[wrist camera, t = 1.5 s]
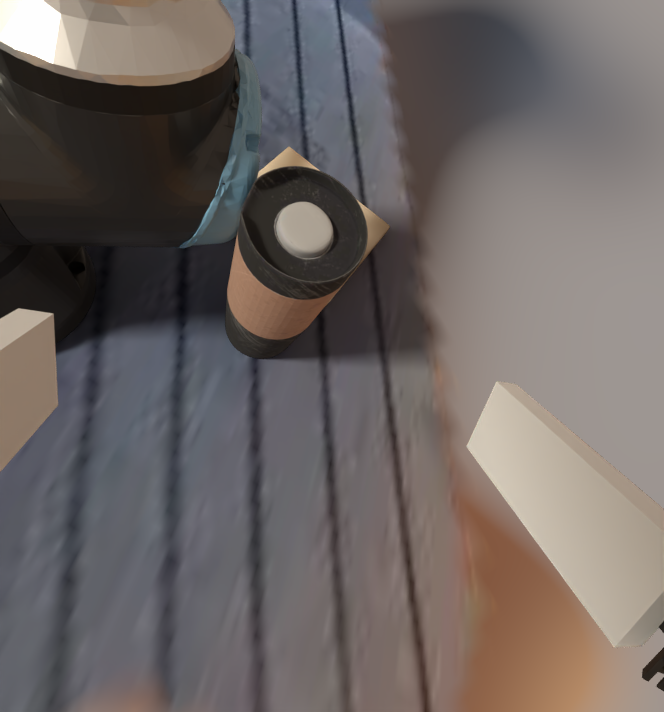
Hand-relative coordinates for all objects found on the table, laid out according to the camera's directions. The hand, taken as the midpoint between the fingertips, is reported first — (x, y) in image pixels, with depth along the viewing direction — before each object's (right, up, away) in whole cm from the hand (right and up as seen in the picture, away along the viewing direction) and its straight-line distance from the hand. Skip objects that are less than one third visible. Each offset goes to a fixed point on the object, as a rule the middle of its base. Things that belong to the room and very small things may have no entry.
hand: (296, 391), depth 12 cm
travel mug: (-6, +4, +29) cm, 30 cm away
